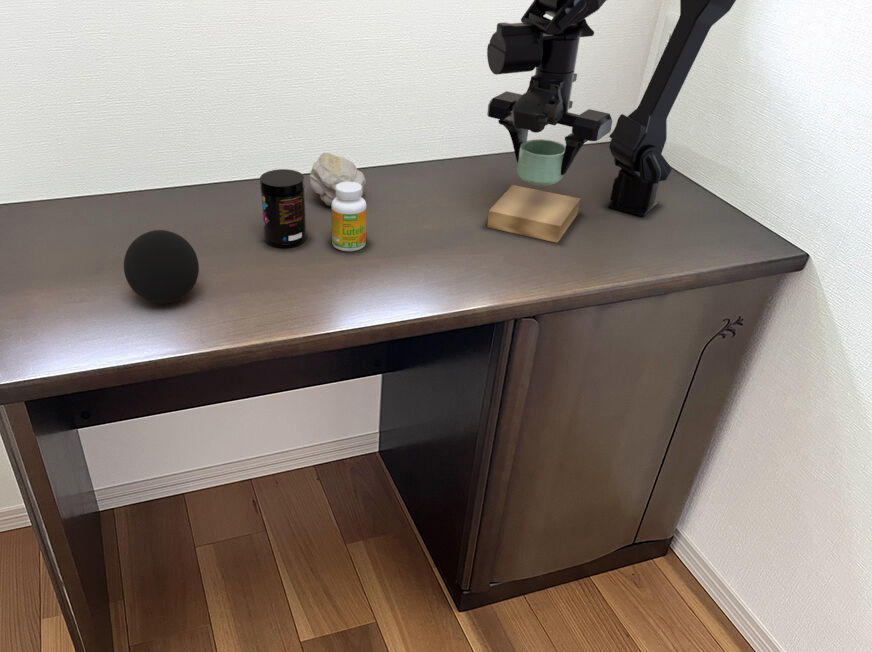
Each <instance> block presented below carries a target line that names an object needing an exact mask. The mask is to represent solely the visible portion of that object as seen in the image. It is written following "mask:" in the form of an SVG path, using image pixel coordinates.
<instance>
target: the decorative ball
mask: <svg viewBox="0 0 872 652" xmlns="http://www.w3.org/2000/svg"><path fill="white" fill-rule="evenodd" d="M199 265H200V263H199V259H198V256H197V253H196V251H195V249H194V248H193V246H192V245H191V243H190V242H189V241H188V240H187V239H186V238H184V237H183V236H181V235H180V234H178V233H176V232H174V231H170V230H166V229H165V230H164V229H155V230H150V231H147V232H144V233H142V234H140V235H139V236H137V237H136V238H135V239H134V240H133V241H132V242H131V243H130V245H129V246H128V247H127V249H126V251H125V255H124V259H123V273H124V277H125V279H126V282H127V284H128V285H129V287H130V289H131V290H132V291H133V292H134V293H135V294H136V295H138V297H140V298H142V299H143V300H145V301H147V302H151V303H154V304H160V305H161V304H162V305H165V304H172V303H175V302H177V301H180V300H182V299H183V298H184V297H186V296H188V294H189V293H191V291H192V290H193V289H194V287H195V285H196V283H197V280H198V277H199V274H200V273H199V272H200V266H199Z"/></svg>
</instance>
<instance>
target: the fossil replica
mask: <svg viewBox="0 0 872 652" xmlns="http://www.w3.org/2000/svg"><path fill="white" fill-rule="evenodd" d="M341 182H356V183H359V184H360V185H361V186H362V196H363V195H364V189H365V187H366V185H367V180H366V178H365V175H364V173H363V172H362V171H360V170H359V169H358V168H357V166H356V165H355V163H354V162H352V161H350V159H348V158H345V157H343V156H338V155H335V154H334V153H330V152H322V153H321V154H320V155H319V157H317V160H316V161H315V162H313V164H312V167H311V170H310V174H309V183H310V187H311V189H312V191H313V192H314V193H315V194H318V195H319V198H320V200H321V201H322V202H324V204H325V206H328V207H331V206H332V201H333V199H334V198H336V197H337V196H336V185H337V184H339V183H341Z"/></svg>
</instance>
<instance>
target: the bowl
mask: <svg viewBox="0 0 872 652" xmlns="http://www.w3.org/2000/svg"><path fill="white" fill-rule="evenodd" d="M565 148H566V144H564V143H561V142H559V141H557V140H551V139H541V138H540V139H539V138H538V139H536V138H535V139H529V140H527V141H525V142H523V143H522V144H521V146H520V152H519V160H518V163H517V168H516V169H517V170H516V174H517V176H518V177H519V178H520V179H521V181H523V182H525V183H527V184H530V185H535V186H551V185H555V184H557V183H559V182H560V181H561V180H563V179H564V175H565V174H564V175H561V166H562V161H563V157H564V152H565Z"/></svg>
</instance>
